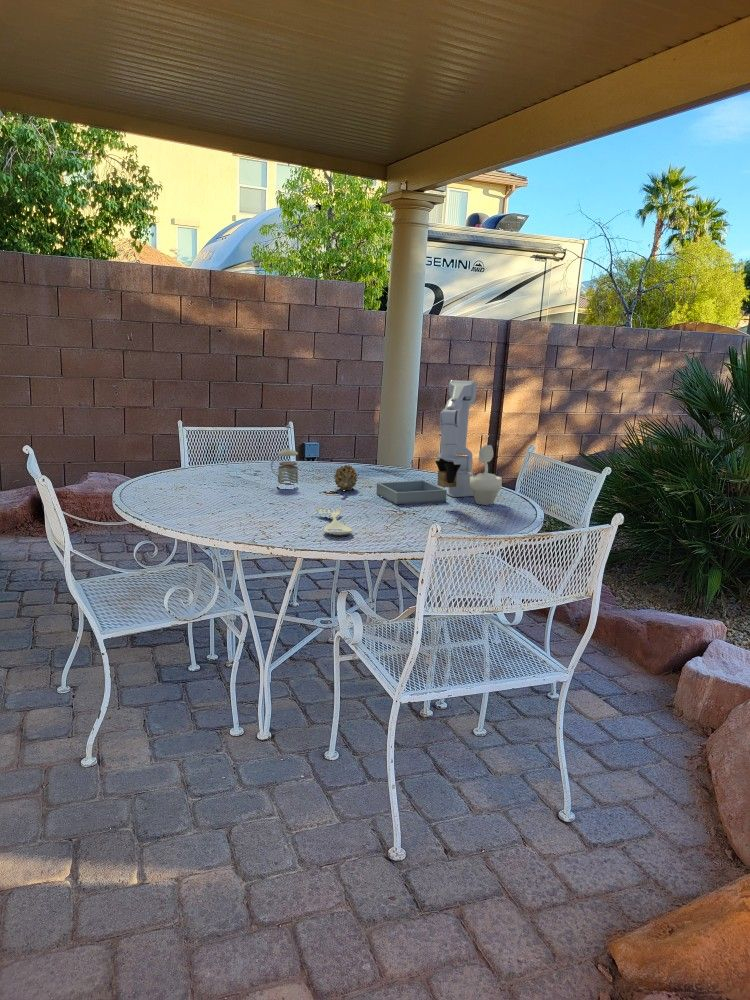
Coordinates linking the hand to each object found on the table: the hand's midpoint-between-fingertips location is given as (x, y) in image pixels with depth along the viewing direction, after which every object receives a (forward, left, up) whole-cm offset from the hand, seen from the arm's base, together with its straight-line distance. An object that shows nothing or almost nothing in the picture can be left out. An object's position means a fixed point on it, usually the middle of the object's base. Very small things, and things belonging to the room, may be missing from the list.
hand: (447, 481), depth 261 cm
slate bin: (+6, -18, -9) cm, 21 cm away
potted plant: (-17, -2, -10) cm, 20 cm away
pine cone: (+26, -36, -10) cm, 45 cm away
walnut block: (0, 0, -2) cm, 2 cm away
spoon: (+47, +15, -10) cm, 50 cm away
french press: (+46, -51, -10) cm, 69 cm away
